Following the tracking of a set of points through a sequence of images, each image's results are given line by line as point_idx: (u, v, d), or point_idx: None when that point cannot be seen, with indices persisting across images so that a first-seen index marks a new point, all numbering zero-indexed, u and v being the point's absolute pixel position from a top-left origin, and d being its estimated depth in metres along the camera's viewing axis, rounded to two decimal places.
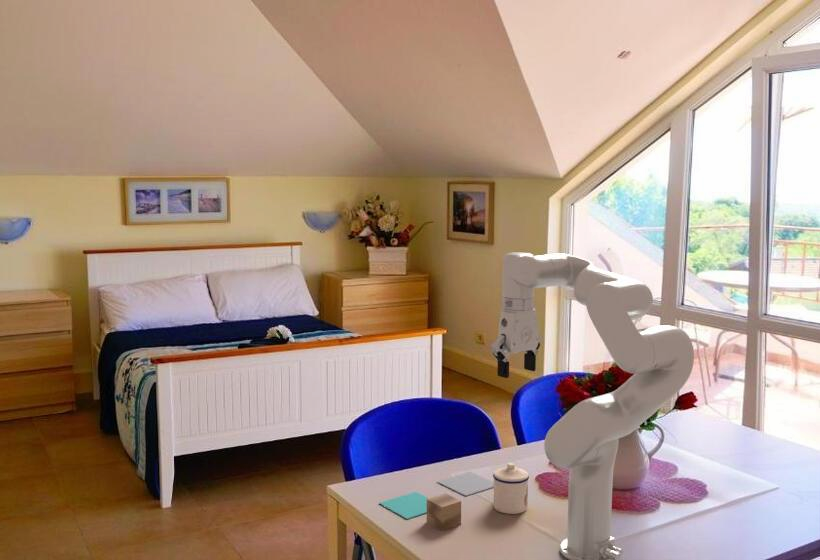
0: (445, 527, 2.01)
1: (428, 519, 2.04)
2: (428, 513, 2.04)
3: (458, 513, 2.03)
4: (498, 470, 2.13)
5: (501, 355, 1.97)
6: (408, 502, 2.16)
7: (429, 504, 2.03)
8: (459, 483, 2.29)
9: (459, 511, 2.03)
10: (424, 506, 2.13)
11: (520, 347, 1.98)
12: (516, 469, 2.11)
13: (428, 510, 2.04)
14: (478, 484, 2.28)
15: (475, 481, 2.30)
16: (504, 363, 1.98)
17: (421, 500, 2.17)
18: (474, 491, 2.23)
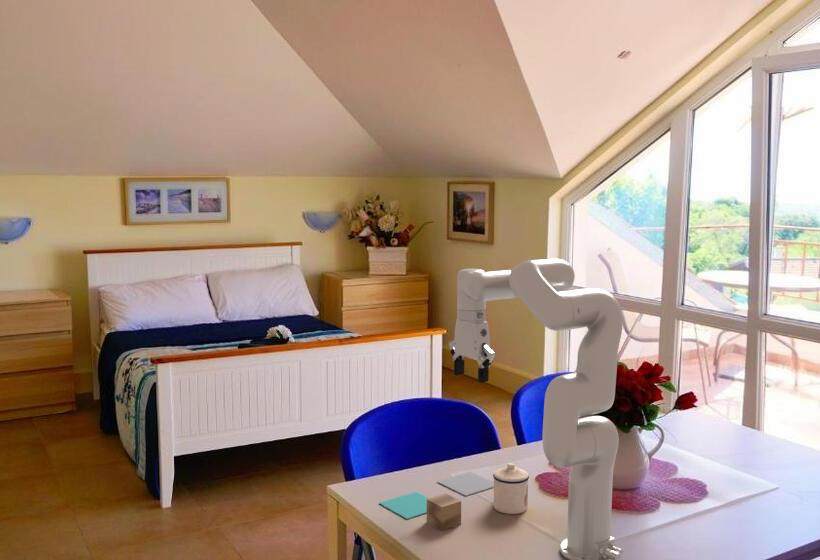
0: (445, 527, 2.01)
1: (428, 519, 2.04)
2: (428, 513, 2.04)
3: (458, 513, 2.03)
4: (498, 470, 2.13)
5: None
6: (408, 502, 2.16)
7: (429, 504, 2.04)
8: (459, 483, 2.29)
9: (459, 511, 2.03)
10: (424, 506, 2.13)
11: None
12: (516, 469, 2.11)
13: (428, 510, 2.04)
14: (478, 484, 2.28)
15: (475, 481, 2.30)
16: None
17: (421, 500, 2.17)
18: (474, 491, 2.23)
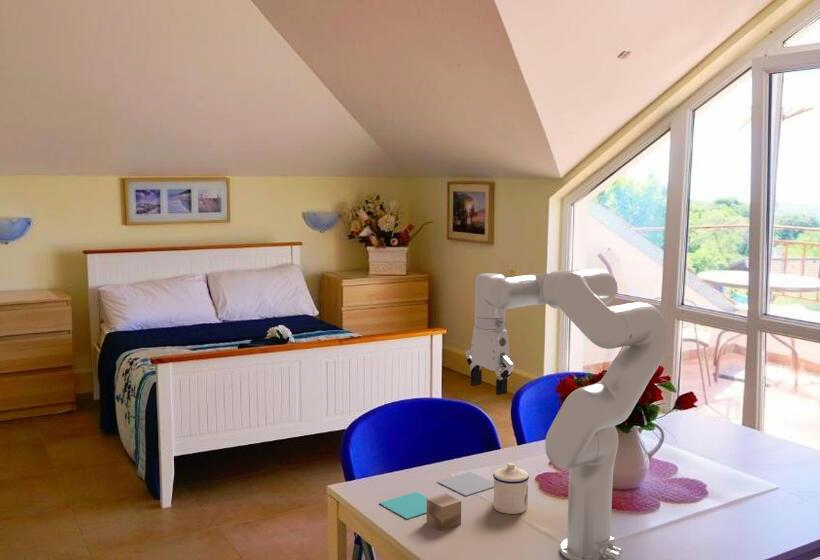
0: (445, 527, 2.01)
1: (428, 519, 2.04)
2: (428, 513, 2.04)
3: (458, 513, 2.03)
4: (498, 470, 2.13)
5: None
6: (408, 502, 2.16)
7: (429, 504, 2.04)
8: (459, 483, 2.29)
9: (459, 511, 2.03)
10: (424, 506, 2.13)
11: None
12: (516, 469, 2.11)
13: (428, 510, 2.04)
14: (478, 484, 2.28)
15: (475, 481, 2.30)
16: None
17: (421, 500, 2.17)
18: (474, 491, 2.23)
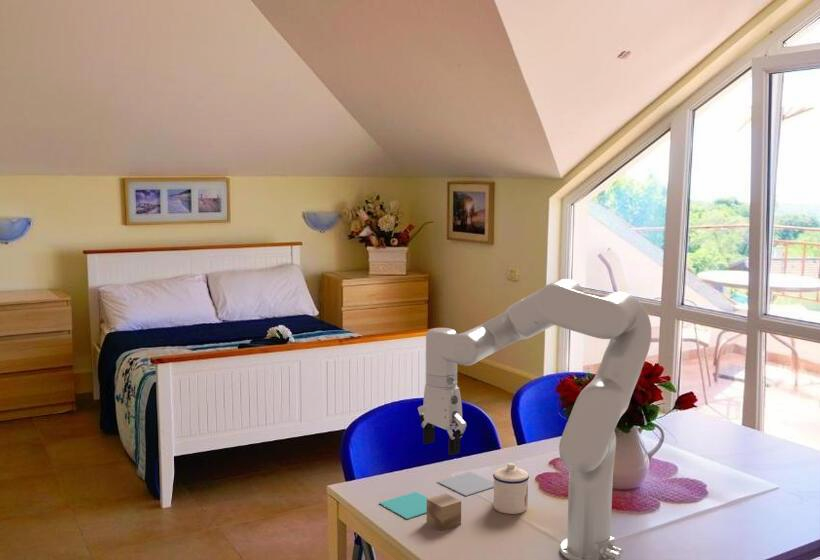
0: (445, 527, 2.01)
1: (428, 519, 2.04)
2: (428, 513, 2.04)
3: (458, 513, 2.03)
4: (498, 470, 2.13)
5: None
6: (408, 502, 2.16)
7: (429, 504, 2.04)
8: (459, 483, 2.29)
9: (459, 511, 2.03)
10: (424, 506, 2.13)
11: None
12: (516, 469, 2.11)
13: (428, 510, 2.04)
14: (478, 484, 2.28)
15: (475, 481, 2.30)
16: None
17: (421, 500, 2.17)
18: (474, 491, 2.23)
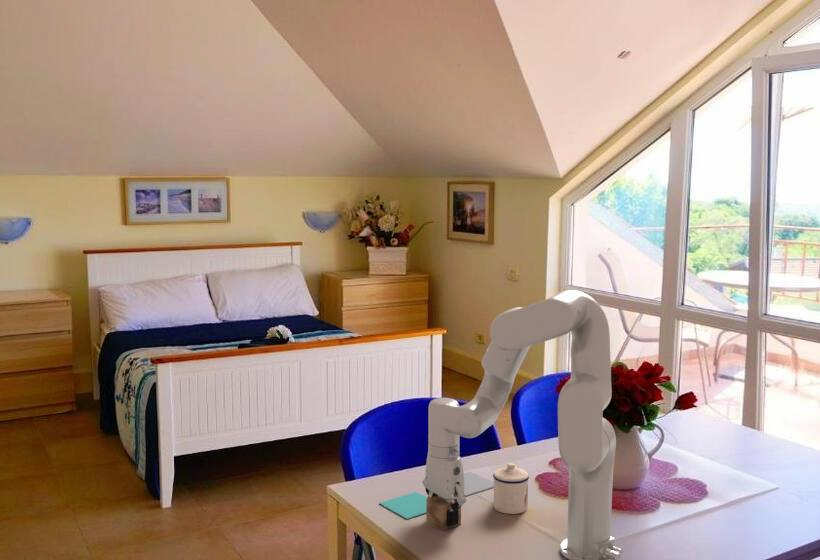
0: (445, 527, 2.01)
1: (428, 519, 2.04)
2: (428, 513, 2.04)
3: (458, 513, 2.03)
4: (498, 470, 2.13)
5: None
6: (408, 502, 2.16)
7: (429, 504, 2.03)
8: None
9: (459, 511, 2.03)
10: (424, 506, 2.13)
11: None
12: (516, 469, 2.11)
13: (428, 510, 2.04)
14: (478, 484, 2.28)
15: (475, 481, 2.30)
16: None
17: (421, 500, 2.17)
18: (474, 491, 2.23)
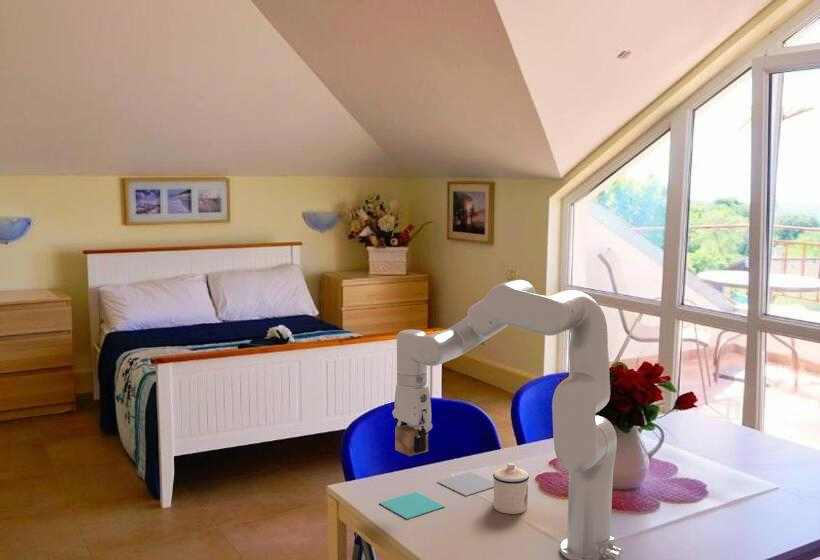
0: (412, 453, 2.09)
1: (396, 446, 2.12)
2: (396, 440, 2.12)
3: None
4: (498, 470, 2.13)
5: None
6: (408, 502, 2.16)
7: (397, 431, 2.12)
8: (459, 483, 2.29)
9: (426, 438, 2.11)
10: (424, 506, 2.13)
11: None
12: (516, 469, 2.11)
13: (396, 437, 2.12)
14: (478, 484, 2.28)
15: (475, 481, 2.30)
16: None
17: (421, 500, 2.17)
18: (474, 491, 2.23)
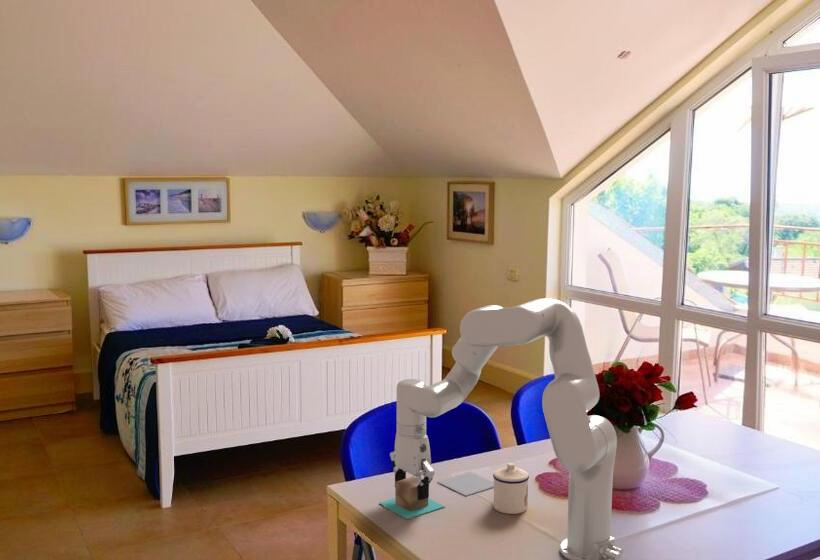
0: (413, 508, 2.11)
1: (397, 501, 2.14)
2: (397, 495, 2.14)
3: None
4: (498, 470, 2.13)
5: None
6: None
7: (398, 486, 2.14)
8: (459, 483, 2.29)
9: None
10: None
11: None
12: (516, 469, 2.11)
13: (397, 492, 2.14)
14: (478, 484, 2.28)
15: (475, 481, 2.30)
16: None
17: None
18: (474, 491, 2.23)
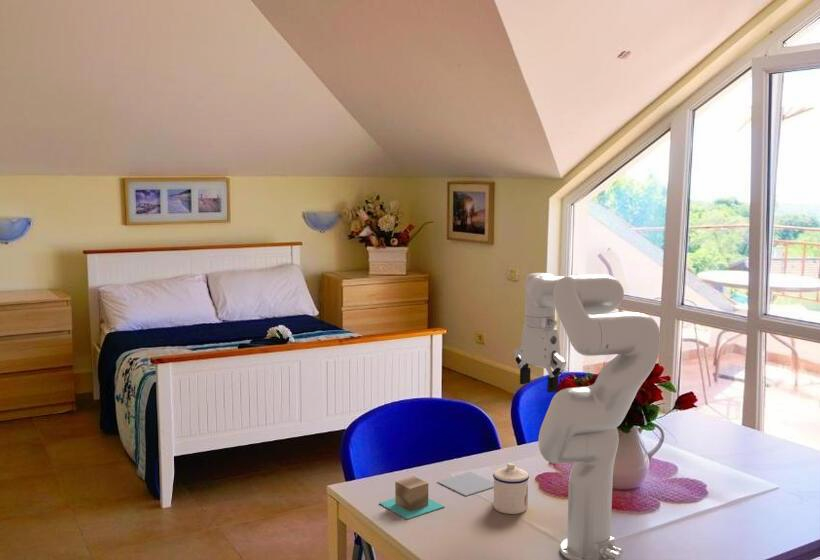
0: (413, 508, 2.11)
1: (397, 501, 2.14)
2: (397, 495, 2.14)
3: (425, 494, 2.13)
4: (498, 470, 2.13)
5: None
6: None
7: (398, 486, 2.14)
8: (459, 483, 2.29)
9: (426, 493, 2.13)
10: None
11: None
12: (516, 469, 2.11)
13: (397, 492, 2.14)
14: (478, 484, 2.28)
15: (475, 481, 2.30)
16: None
17: None
18: (474, 491, 2.23)
